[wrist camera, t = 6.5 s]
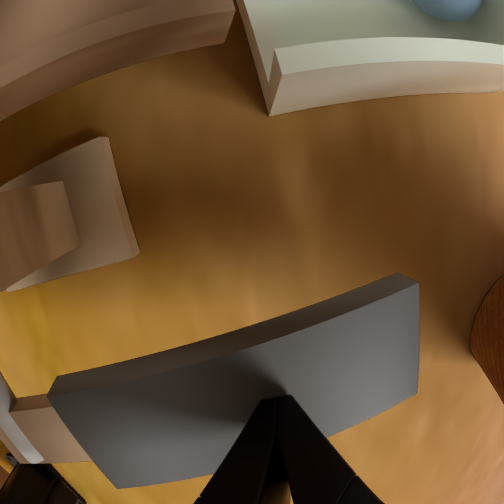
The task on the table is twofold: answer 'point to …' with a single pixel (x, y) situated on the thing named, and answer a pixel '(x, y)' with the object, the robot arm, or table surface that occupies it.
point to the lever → (205, 351)
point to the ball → (450, 8)
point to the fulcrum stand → (64, 218)
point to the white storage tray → (369, 51)
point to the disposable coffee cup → (491, 337)
